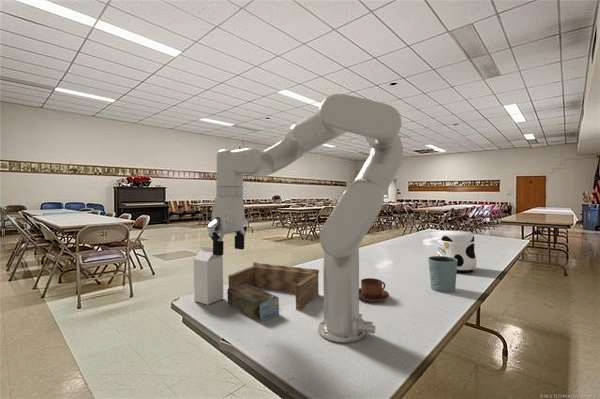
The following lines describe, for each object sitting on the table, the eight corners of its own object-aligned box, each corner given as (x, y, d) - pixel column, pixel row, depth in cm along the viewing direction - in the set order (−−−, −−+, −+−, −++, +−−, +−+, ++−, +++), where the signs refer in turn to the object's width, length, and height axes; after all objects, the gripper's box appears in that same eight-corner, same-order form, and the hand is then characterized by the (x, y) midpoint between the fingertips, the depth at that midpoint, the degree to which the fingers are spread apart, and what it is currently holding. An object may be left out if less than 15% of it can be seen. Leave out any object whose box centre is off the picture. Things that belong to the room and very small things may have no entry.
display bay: (319, 294, 108) (318, 269, 108) (300, 310, 93) (299, 281, 93) (254, 284, 121) (254, 262, 121) (228, 297, 106) (228, 272, 106)
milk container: (428, 267, 145) (428, 231, 145) (452, 263, 152) (452, 229, 152) (460, 276, 129) (460, 236, 129) (484, 271, 137) (485, 233, 136)
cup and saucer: (366, 290, 112) (366, 274, 112) (395, 298, 104) (395, 281, 104) (348, 298, 104) (347, 281, 104) (377, 307, 95) (377, 289, 95)
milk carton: (207, 305, 98) (206, 249, 98) (194, 301, 102) (193, 247, 102) (223, 298, 104) (222, 246, 104) (210, 295, 108) (209, 244, 108)
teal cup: (460, 289, 112) (460, 258, 112) (453, 296, 105) (453, 263, 105) (433, 283, 119) (433, 254, 119) (424, 289, 112) (424, 258, 111)
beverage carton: (259, 323, 85) (259, 301, 85) (226, 306, 98) (226, 287, 98) (280, 315, 90) (279, 294, 90) (245, 300, 104) (245, 282, 104)
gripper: (237, 193, 93) (236, 245, 94) (198, 192, 78) (197, 256, 78) (257, 193, 90) (256, 248, 91) (220, 193, 74) (219, 259, 75)
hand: (229, 251), depth 84 cm, fingers open, 9 cm apart
